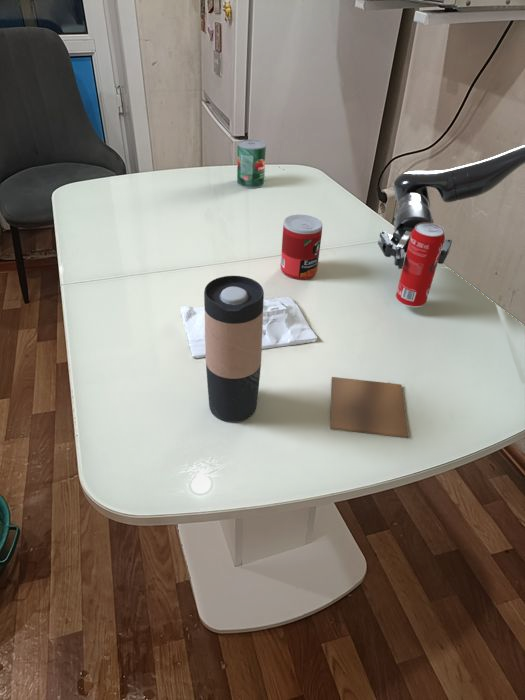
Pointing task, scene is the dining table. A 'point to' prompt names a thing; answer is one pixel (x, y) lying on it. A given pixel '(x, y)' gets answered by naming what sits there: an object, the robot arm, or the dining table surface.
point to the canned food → (300, 246)
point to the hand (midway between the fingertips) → (415, 265)
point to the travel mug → (233, 346)
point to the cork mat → (368, 407)
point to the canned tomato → (251, 163)
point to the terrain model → (278, 328)
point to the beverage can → (420, 264)
